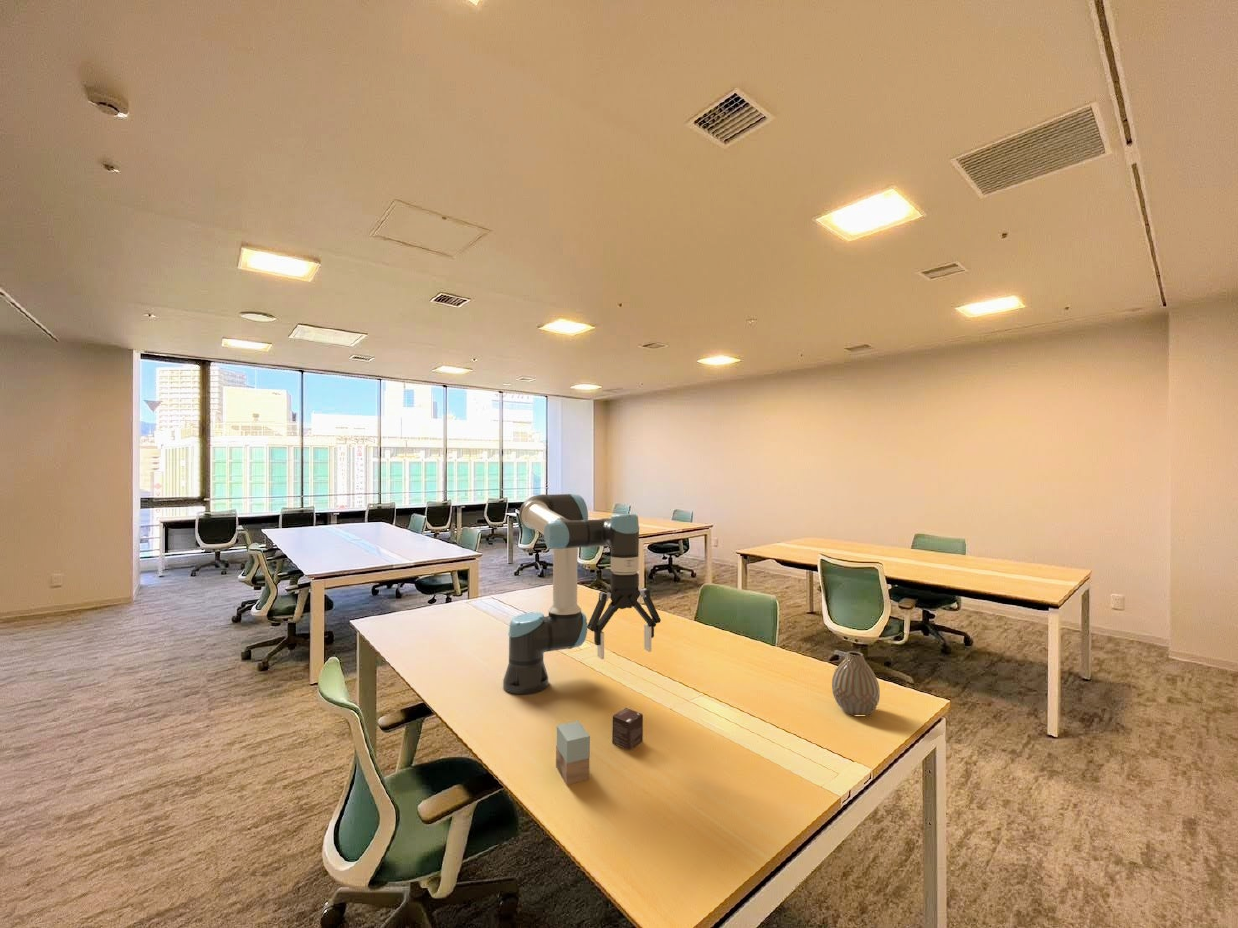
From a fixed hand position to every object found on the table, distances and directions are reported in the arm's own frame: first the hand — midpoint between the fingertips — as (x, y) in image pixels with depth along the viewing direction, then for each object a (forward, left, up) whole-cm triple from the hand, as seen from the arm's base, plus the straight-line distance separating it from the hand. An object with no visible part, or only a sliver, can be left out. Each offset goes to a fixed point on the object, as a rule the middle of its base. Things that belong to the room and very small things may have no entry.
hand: (624, 653), depth 130 cm
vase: (+10, +73, -24) cm, 78 cm away
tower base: (+5, -16, -24) cm, 30 cm away
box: (-2, +2, -25) cm, 25 cm away
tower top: (+5, -16, -19) cm, 26 cm away
